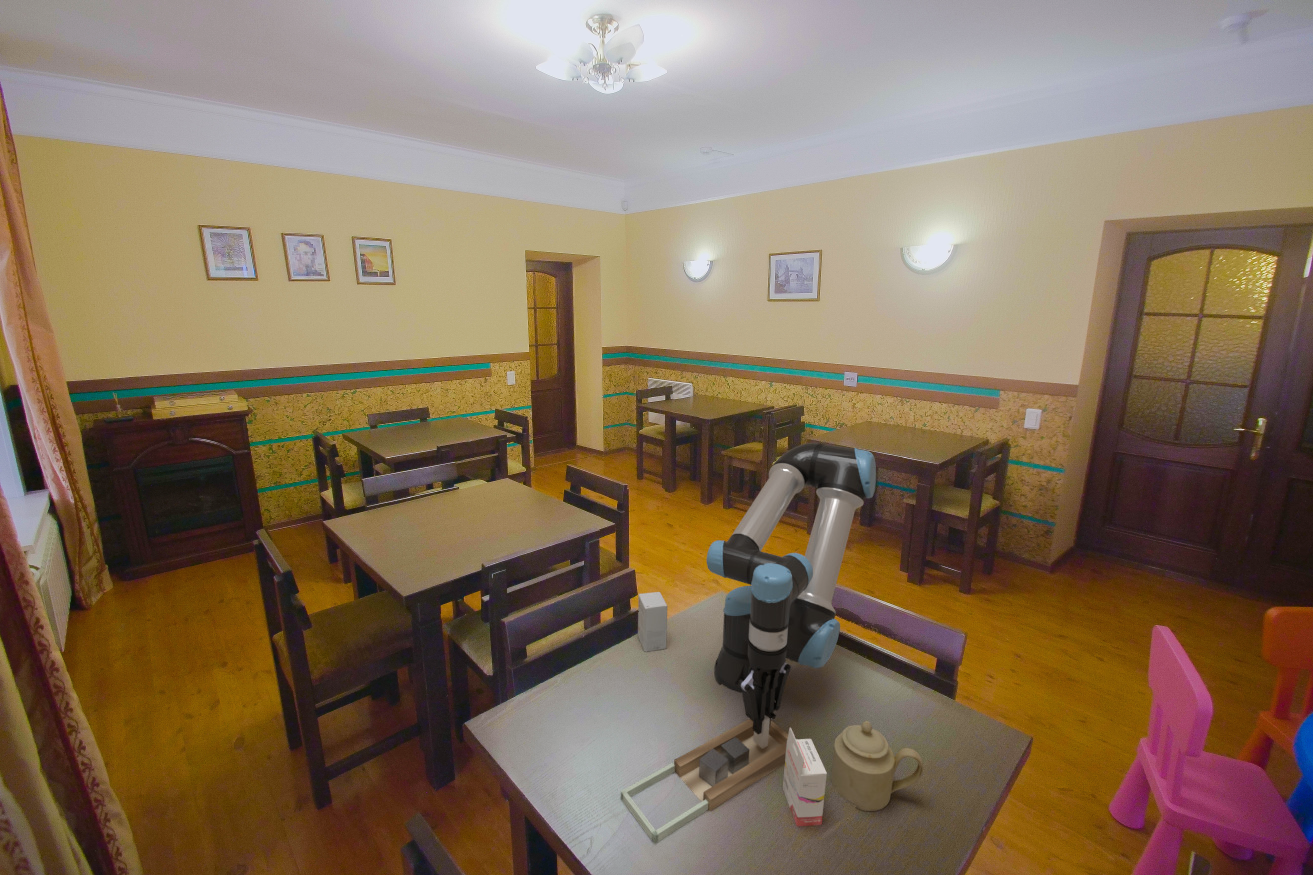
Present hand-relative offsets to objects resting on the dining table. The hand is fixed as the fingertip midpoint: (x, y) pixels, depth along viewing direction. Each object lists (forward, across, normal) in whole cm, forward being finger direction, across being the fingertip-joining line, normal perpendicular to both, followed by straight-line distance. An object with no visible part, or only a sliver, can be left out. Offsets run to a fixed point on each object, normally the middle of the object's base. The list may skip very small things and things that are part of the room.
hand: (760, 742), depth 116 cm
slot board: (+2, -6, 0) cm, 7 cm away
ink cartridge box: (+3, -3, -14) cm, 15 cm away
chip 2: (+1, -7, 0) cm, 7 cm away
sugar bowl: (+3, +12, -18) cm, 22 cm away
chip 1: (+2, -13, 0) cm, 13 cm away
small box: (+3, +4, +45) cm, 45 cm away
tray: (+3, -24, +1) cm, 24 cm away
